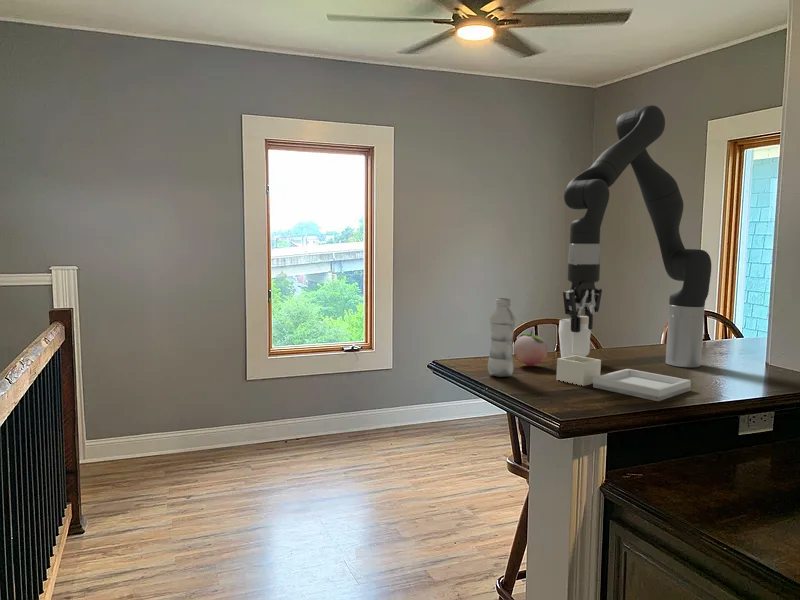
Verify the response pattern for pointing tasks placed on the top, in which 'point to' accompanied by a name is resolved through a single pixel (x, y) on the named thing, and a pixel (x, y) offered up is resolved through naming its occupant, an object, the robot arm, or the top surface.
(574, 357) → the holder
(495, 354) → the plastic bottle
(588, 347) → the pepper shaker
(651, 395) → the tray
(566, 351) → the cup
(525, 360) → the decorative fruit
